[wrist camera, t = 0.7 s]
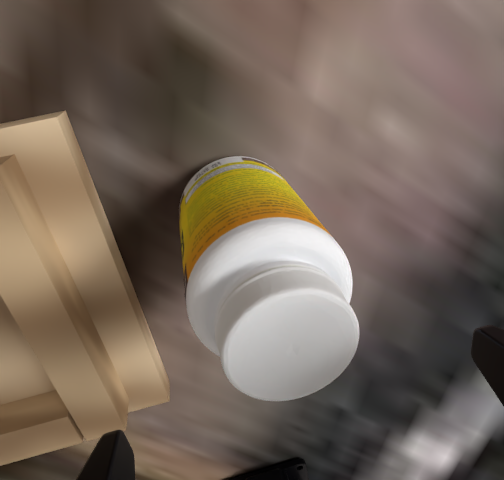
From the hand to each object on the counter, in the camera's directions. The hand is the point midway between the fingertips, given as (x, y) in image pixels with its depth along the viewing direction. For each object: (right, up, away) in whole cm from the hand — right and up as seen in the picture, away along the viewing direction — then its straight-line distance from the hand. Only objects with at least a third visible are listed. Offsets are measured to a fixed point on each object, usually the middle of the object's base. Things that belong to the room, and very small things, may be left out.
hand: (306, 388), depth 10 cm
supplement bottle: (-2, +5, +10) cm, 12 cm away
